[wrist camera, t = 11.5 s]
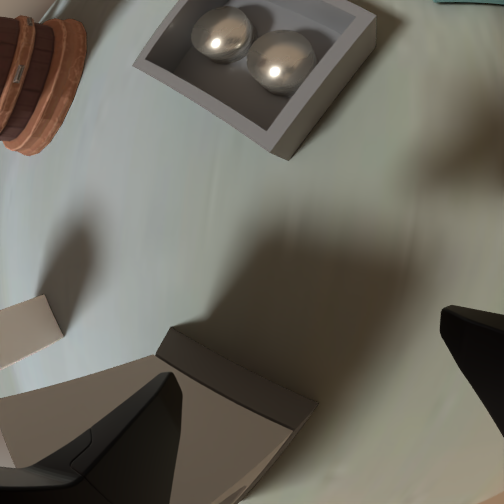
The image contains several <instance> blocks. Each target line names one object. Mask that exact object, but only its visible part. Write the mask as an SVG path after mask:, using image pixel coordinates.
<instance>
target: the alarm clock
mask: <svg viewBox="0 0 504 504" xmlns="http://www.w3.org/2000/svg"><path fill="white" fill-rule="evenodd" d="M161 372H173V373H174V375H175V377H176V379H177V381H178V383H179V386H180V388H181V390H182V394H183V403H182V422H181V436H180V442H179V448H178V454H177V460H176V466H175V472H174V478H173V484H172V491H171V497H170V504H238V503H239V502H240V501H241V500H242V499H243V498H244V497H245V495H246V494H247V493H248V492H249V491H250V490H251V489H252V488H253V487H254V486H255V484H256V483H257V482H258V481H259V480H260V479H261V478H262V476H263V475H264V474H265V473H266V472H267V471H268V469H269V468H270V467H271V466H272V465H273V463H274V462H275V461H276V460H277V459H278V457H279V456H280V455H281V454H282V452H283V451H284V450H285V449H286V447H287V446H288V445H289V444H290V442H291V441H292V440H293V438H294V437H295V436H296V434H297V433H298V432H299V430H300V429H301V428H302V426H303V425H304V424H305V422H306V421H307V419H308V418H309V417H310V415H311V414H312V412H313V411H314V410H315V408H316V407H317V405H318V404H319V403H317V402H315V401H312V400H310V399H308V398H306V397H303V396H301V395H299V394H297V393H294V392H292V391H290V390H288V389H286V388H284V387H281V386H279V385H277V384H275V383H273V382H271V381H269V380H267V379H265V378H263V377H261V376H259V375H257V374H255V373H253V372H251V371H249V370H247V369H245V368H243V367H241V366H239V365H237V364H235V363H233V362H231V361H230V360H228V359H226V358H224V357H222V356H220V355H218V354H217V353H215V352H213V351H211V350H209V349H208V348H206V347H204V346H202V345H200V344H199V343H197V342H195V341H193V340H192V339H190V338H188V337H187V336H185V335H183V334H182V333H180V332H178V331H176V330H175V329H173V328H172V327H170V329H169V331H168V332H167V334H166V336H165V338H164V339H163V341H162V343H161V345H160V347H159V348H158V350H157V352H156V354H155V356H154V355H150V356H147V357H144V358H141V359H138V360H135V361H132V362H129V363H126V364H123V365H120V366H116V367H113V368H110V369H107V370H104V371H100V372H97V373H94V374H90V375H87V376H84V377H80V378H77V379H73V380H70V381H66V382H63V383H59V384H56V385H52V386H48V387H44V388H41V389H37V390H33V391H29V392H25V393H21V394H17V395H12V396H8V397H4V398H0V429H1V432H2V434H3V437H4V440H5V443H6V445H7V448H8V450H9V453H10V455H11V458H12V460H13V462H14V465H15V467H16V468H24V467H28V466H31V465H33V464H35V463H36V462H38V461H40V460H42V459H43V458H45V457H47V456H48V455H50V454H52V453H53V452H55V451H57V450H58V449H60V448H61V447H63V446H65V445H66V444H68V443H69V442H71V441H72V440H74V439H75V438H77V437H78V436H79V435H81V434H82V433H83V432H85V431H86V430H87V429H89V428H91V426H93V425H94V424H95V423H97V422H98V421H99V420H101V419H102V418H103V417H105V416H106V415H107V414H108V413H110V412H111V411H112V410H114V409H115V408H116V407H118V406H119V405H120V404H121V403H123V402H124V401H125V400H126V399H128V398H129V397H130V396H132V395H133V394H134V393H135V392H137V391H138V390H139V389H140V388H142V387H143V386H144V385H145V384H147V383H148V382H149V381H150V380H152V379H153V378H154V377H155V376H157V375H158V374H159V373H161Z"/></svg>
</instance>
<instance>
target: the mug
mask: <svg viewBox="0 0 504 504" xmlns="http://www.w3.org/2000/svg"><path fill="white" fill-rule="evenodd" d="M86 51H87V45H86V31H85V29H84V27H83V25H82V23H81V22H79V21H76V20H74V19H66V20H60V19H56V18H54V19H51V20H48V21H45V22H44V23H43V24H39V23H34V20H33V19H32V18H31V17H27V16H18V17H17V18H15V19H13V18H6V17H0V141H3V143H4V145H5V147H6V148H8V149H10V150H11V151H18V152H20V153H22V154H24V155H26V156H31V155H34V154H38V153H39V152H40V151H41V150H42V149H44V148H45V147H46V146H47V145H48V144H49V143H50V142H51V140H52V138H53V137H54V135H55V134H56V132H57V131H58V129H59V128H60V126H61V125H62V123H63V121H64V118H65V116H66V114H67V112H68V110H69V108H70V105H71V103H72V101H73V99H74V96H75V93H76V90H77V87H78V84H79V81H80V78H81V75H82V71H83V66H84V61H85V56H86Z"/></svg>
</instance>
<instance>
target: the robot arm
mask: <svg viewBox="0 0 504 504" xmlns="http://www.w3.org/2000/svg"><path fill="white" fill-rule="evenodd" d="M440 334H441V337H442V338H443V340H444V342H445V344H446V345H447V347H448V349H449V351H450V353H451V354H452V356H453V358H454V360H455V362H456V363H457V365H458V367H459V368H460V370H461V371H462V373H463V374H464V376H465V377H466V379H467V380H468V382H469V383H470V385H471V386H472V388H473V389H474V391H475V392H476V394H477V395H478V397H479V398H480V400H481V401H482V403H483V404H484V406H485V407H486V409H487V411H488V412H489V414H490V415H491V417H492V419H493V420H494V422H495V424H496V425H497V427H498V429H499V430H500V432H501V434H502V435H503V437H504V315H502V314H497V313H491V312H486V311H481V310H476V309H471V308H465V307H460V306H455V305H450V306H447V307H445V308H443V309H442V311H441V319H440ZM182 403H183V394H182V390H181V388H180V386H179V383H178V381H177V379H176V377H175V375H174V373H173V372H161V373H159V374H158V375H157V376H155V377H154V378H153V379H152V380H150V381H149V382H148V383H147V384H145V385H144V386H143V387H142V388H140V389H139V390H138V391H137V392H135V393H134V394H133V395H132V396H130V397H129V398H128V399H126V400H125V401H124V402H123V403H121V404H120V405H119V406H118V407H116V408H115V409H114V410H112V411H111V412H110V413H108V414H107V415H106V416H105V417H103V418H102V419H101V420H99V421H98V422H97V423H95V424H94V425H93V426H91V428H89V429H87V430H86V431H85V432H83V433H82V434H81V435H79V436H78V437H77V438H75V439H74V440H72V441H71V442H69V443H68V444H66V445H65V446H63V447H61V448H60V449H58V450H57V451H55V452H53V453H52V454H50V455H48V456H47V457H45V458H43V459H42V460H40V461H38V462H36V463H35V464H33V465H31V466H28V467H24V468H6V467H0V504H170V497H171V491H172V484H173V478H174V472H175V466H176V460H177V454H178V448H179V442H180V436H181V422H182Z"/></svg>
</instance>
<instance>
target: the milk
mask: <svg viewBox="0 0 504 504" xmlns="http://www.w3.org/2000/svg"><path fill="white" fill-rule="evenodd" d="M63 337H64V336H63V334H62V332H61V330H60V328H59V326H58V324H57V322H56V320H55V317H54V315H53V313H52V311H51V308H50V306H49V304H48V302H47V299H46V297H45V295H41V296H38V297H35V298H33V299H30V300H27V301H24V302H21V303H19V304H16V305H13V306H10V307H8V308H5V309H2V310H0V370H2V369H4V368H6V367H8V366H10V365H12V364H14V363H16V362H18V361H20V360H22V359H24V358H26V357H28V356H30V355H32V354H34V353H36V352H38V351H40V350H42V349H44V348H47V347H48V346H50V345H52V344H54V343H55V342H57V341H58V340H60V339H62V338H63Z"/></svg>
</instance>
